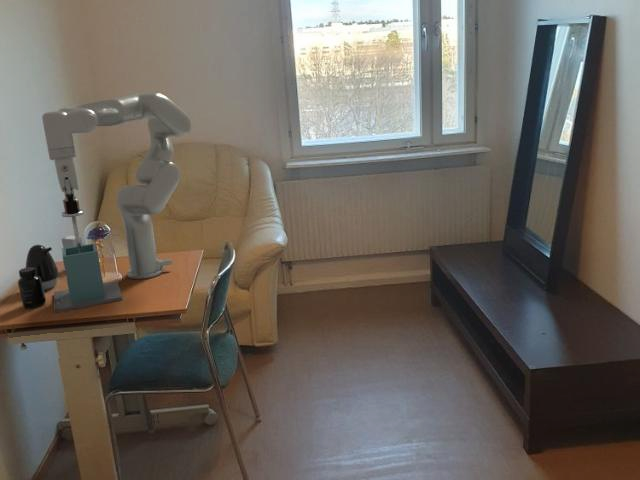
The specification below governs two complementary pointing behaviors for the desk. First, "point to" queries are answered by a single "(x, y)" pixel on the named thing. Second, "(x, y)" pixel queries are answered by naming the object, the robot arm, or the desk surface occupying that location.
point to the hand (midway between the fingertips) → (72, 211)
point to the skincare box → (70, 241)
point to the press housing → (84, 281)
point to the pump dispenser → (43, 265)
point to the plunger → (74, 223)
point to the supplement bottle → (31, 288)
